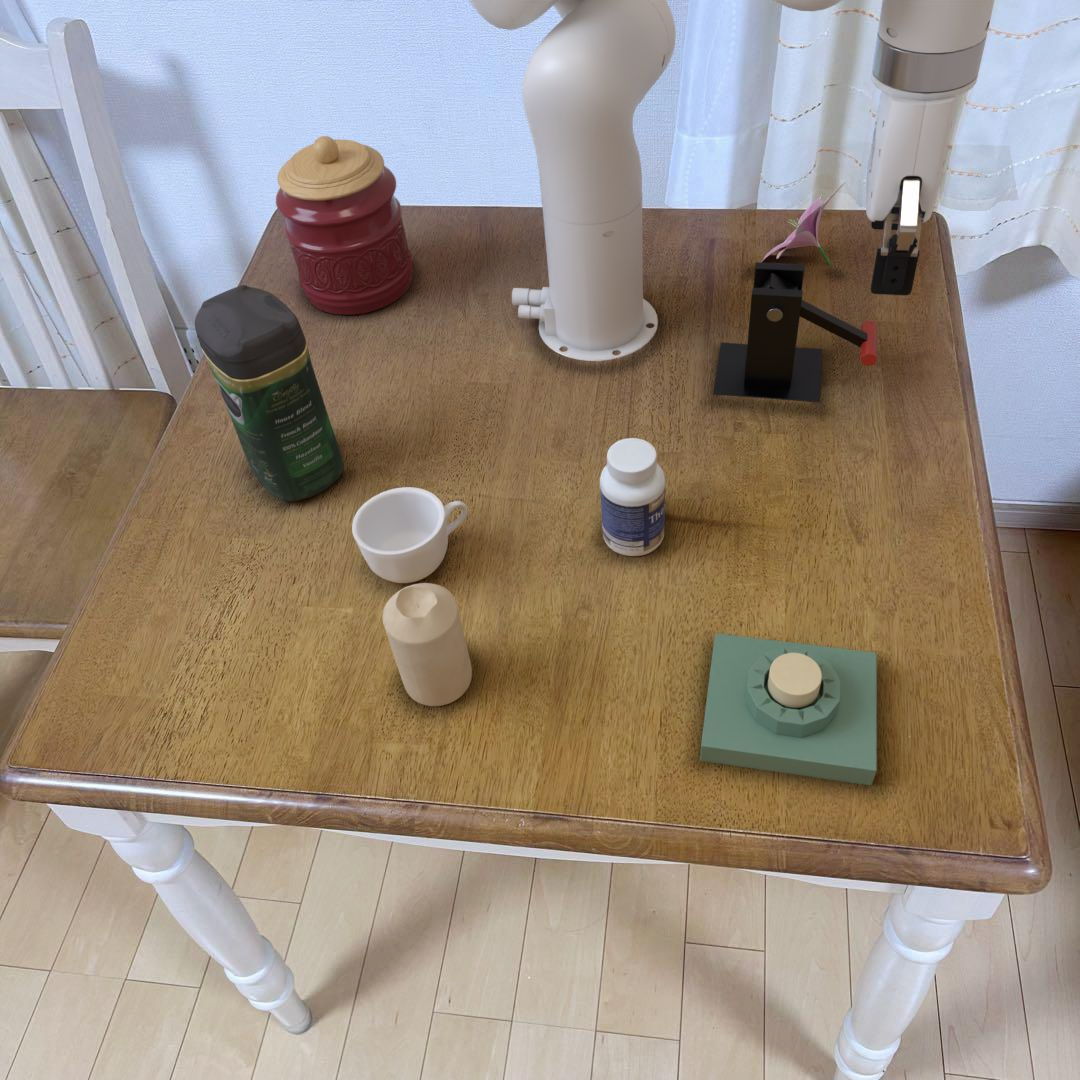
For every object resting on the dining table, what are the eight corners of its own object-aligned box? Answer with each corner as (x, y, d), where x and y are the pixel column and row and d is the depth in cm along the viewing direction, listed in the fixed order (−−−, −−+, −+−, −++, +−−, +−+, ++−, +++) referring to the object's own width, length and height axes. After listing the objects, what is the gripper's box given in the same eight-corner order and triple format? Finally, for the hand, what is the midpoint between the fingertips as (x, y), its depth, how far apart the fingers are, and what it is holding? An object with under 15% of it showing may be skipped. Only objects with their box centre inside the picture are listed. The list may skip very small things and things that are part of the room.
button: (766, 704, 72) (768, 691, 71) (769, 663, 75) (771, 649, 73) (818, 711, 72) (821, 698, 70) (819, 669, 74) (822, 655, 73)
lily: (831, 236, 118) (797, 164, 113) (900, 245, 108) (866, 167, 103) (754, 301, 117) (716, 231, 112) (816, 317, 107) (777, 241, 102)
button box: (699, 761, 74) (701, 732, 71) (713, 649, 80) (716, 618, 77) (871, 786, 72) (881, 757, 69) (872, 668, 78) (880, 637, 75)
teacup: (385, 610, 86) (372, 569, 82) (352, 551, 90) (338, 510, 86) (491, 560, 88) (483, 518, 84) (453, 506, 93) (444, 464, 89)
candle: (483, 657, 82) (465, 578, 74) (457, 714, 78) (436, 638, 71) (420, 642, 83) (397, 563, 76) (392, 697, 80) (365, 621, 72)
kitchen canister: (390, 323, 112) (355, 175, 99) (285, 311, 115) (237, 166, 102) (431, 257, 120) (403, 111, 107) (331, 247, 123) (293, 104, 110)
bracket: (820, 358, 102) (836, 256, 94) (818, 411, 97) (834, 308, 88) (720, 351, 104) (726, 251, 96) (712, 403, 99) (718, 302, 90)
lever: (867, 338, 98) (883, 321, 96) (867, 372, 95) (883, 354, 93) (758, 282, 96) (772, 263, 94) (754, 314, 92) (769, 295, 91)
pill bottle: (660, 561, 87) (661, 481, 79) (598, 555, 88) (593, 475, 80) (668, 515, 90) (669, 434, 83) (608, 509, 91) (604, 429, 84)
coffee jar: (359, 476, 97) (310, 314, 83) (285, 516, 94) (222, 356, 80) (310, 424, 102) (257, 265, 88) (239, 462, 99) (173, 303, 85)
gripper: (874, 10, 81) (846, 204, 94) (873, 113, 70) (842, 318, 83) (974, 8, 80) (932, 207, 93) (989, 114, 69) (939, 322, 81)
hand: (889, 259), depth 88 cm, fingers open, 9 cm apart
